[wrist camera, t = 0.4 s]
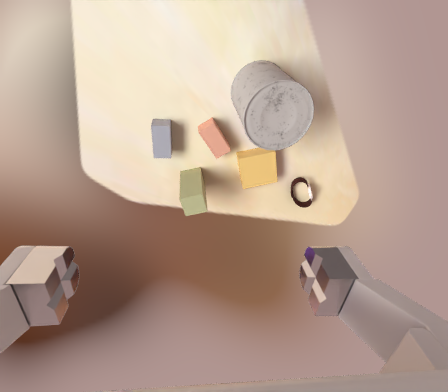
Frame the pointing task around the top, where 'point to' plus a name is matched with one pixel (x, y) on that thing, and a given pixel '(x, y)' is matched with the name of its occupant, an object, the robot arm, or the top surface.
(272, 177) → the ochre slab
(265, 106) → the speckled grey cylinder
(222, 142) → the terracotta brick
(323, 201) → the top surface
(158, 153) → the slate brick
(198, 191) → the olive brick
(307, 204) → the watch
